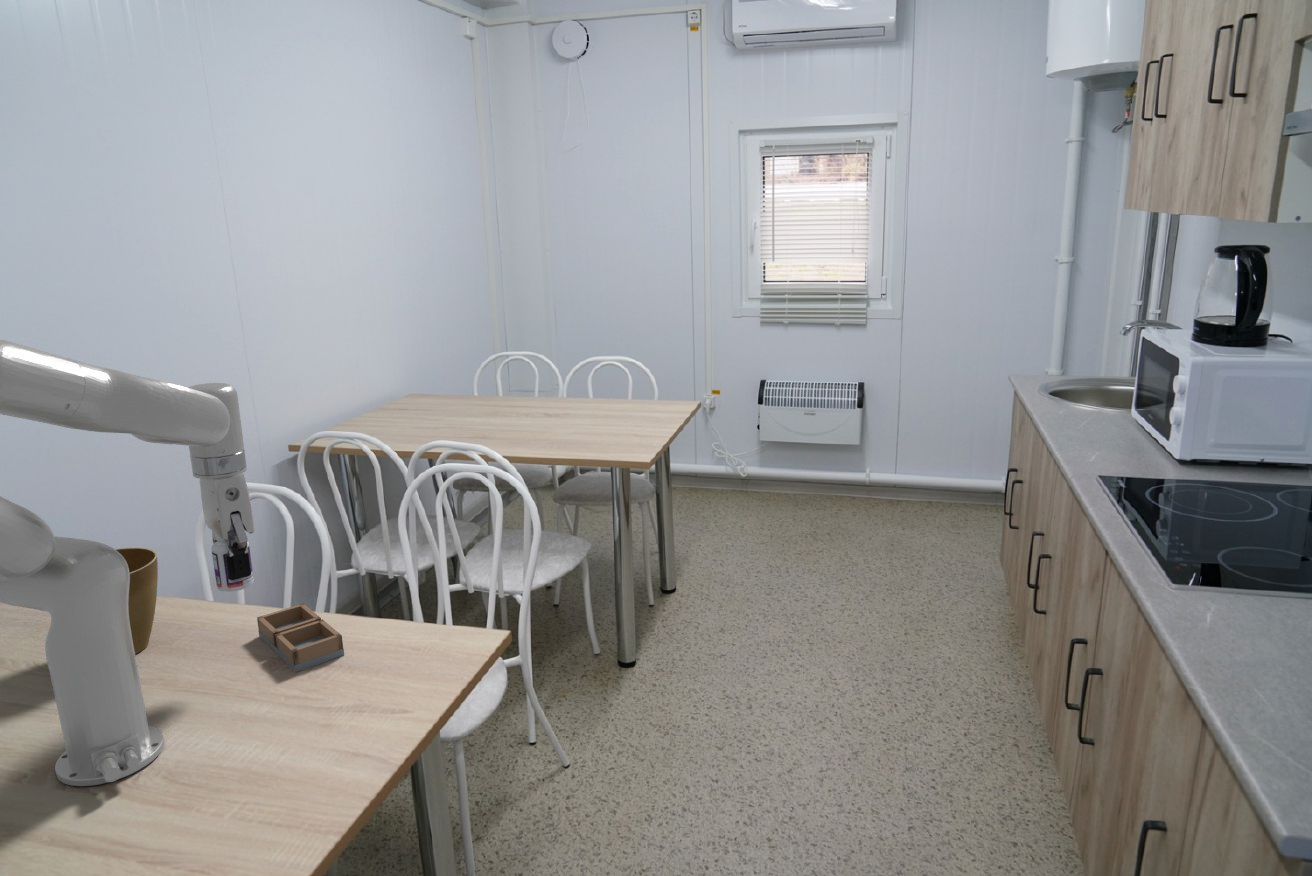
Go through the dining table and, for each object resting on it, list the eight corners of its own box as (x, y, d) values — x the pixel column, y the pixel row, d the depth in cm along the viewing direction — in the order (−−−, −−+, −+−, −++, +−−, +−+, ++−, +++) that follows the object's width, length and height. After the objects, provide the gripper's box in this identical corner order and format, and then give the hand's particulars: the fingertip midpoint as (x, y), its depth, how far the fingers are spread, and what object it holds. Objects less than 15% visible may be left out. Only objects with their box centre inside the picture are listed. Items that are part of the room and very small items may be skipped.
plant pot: (142, 622, 155) (127, 541, 151) (188, 642, 147) (175, 557, 143) (52, 657, 142) (34, 570, 138) (98, 681, 135) (80, 589, 131)
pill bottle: (261, 579, 138) (253, 523, 135) (242, 593, 132) (234, 535, 130) (229, 578, 138) (222, 522, 136) (209, 591, 133) (201, 534, 131)
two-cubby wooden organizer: (344, 654, 142) (342, 635, 141) (295, 672, 137) (292, 651, 136) (305, 621, 154) (303, 603, 154) (259, 636, 149) (256, 617, 148)
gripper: (263, 469, 127) (277, 581, 131) (227, 449, 139) (240, 551, 143) (209, 479, 122) (225, 595, 126) (177, 457, 134) (192, 563, 138)
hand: (233, 570), depth 135 cm, fingers closed on pill bottle, 5 cm apart
